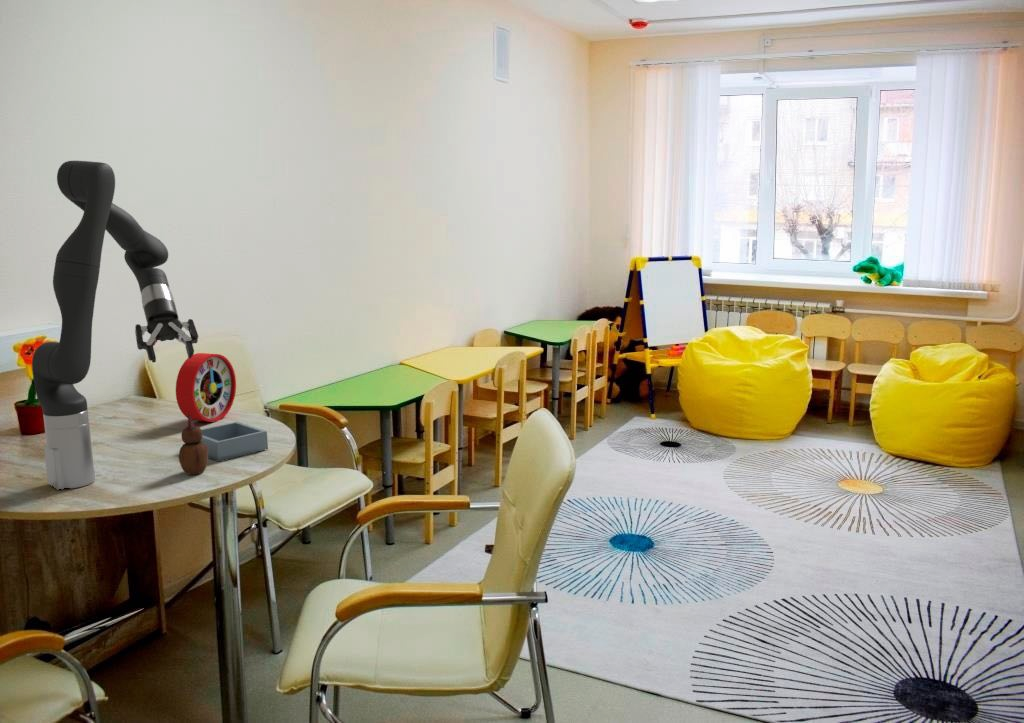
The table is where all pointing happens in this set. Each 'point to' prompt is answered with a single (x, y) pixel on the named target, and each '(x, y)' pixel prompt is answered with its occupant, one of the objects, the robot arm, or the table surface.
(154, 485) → the table surface
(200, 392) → the toy clock
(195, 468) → the wooden figurine
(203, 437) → the box
